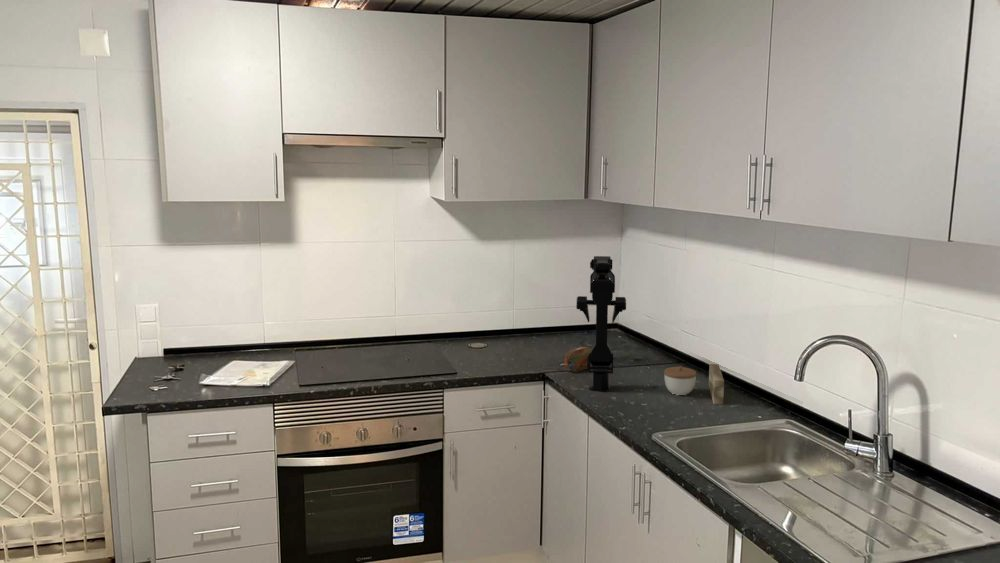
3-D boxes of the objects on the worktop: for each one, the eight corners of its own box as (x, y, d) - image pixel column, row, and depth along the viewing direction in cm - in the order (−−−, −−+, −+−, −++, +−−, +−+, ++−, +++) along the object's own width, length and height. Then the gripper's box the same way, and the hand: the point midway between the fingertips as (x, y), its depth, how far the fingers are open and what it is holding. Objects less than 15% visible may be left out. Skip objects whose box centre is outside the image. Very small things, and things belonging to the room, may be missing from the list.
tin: (568, 373, 279) (568, 352, 278) (562, 372, 282) (562, 350, 280) (596, 366, 289) (596, 345, 287) (590, 365, 291) (590, 344, 290)
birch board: (713, 403, 244) (714, 380, 243) (708, 385, 264) (709, 363, 262) (723, 404, 244) (724, 380, 242) (717, 386, 263) (718, 364, 262)
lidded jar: (700, 397, 251) (701, 370, 250) (670, 398, 250) (671, 371, 248) (688, 387, 262) (689, 361, 260) (659, 388, 260) (659, 363, 259)
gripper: (625, 277, 286) (624, 312, 294) (577, 276, 289) (577, 311, 296) (626, 291, 277) (625, 326, 284) (576, 290, 279) (576, 325, 286)
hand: (600, 322), depth 288 cm, fingers open, 9 cm apart
